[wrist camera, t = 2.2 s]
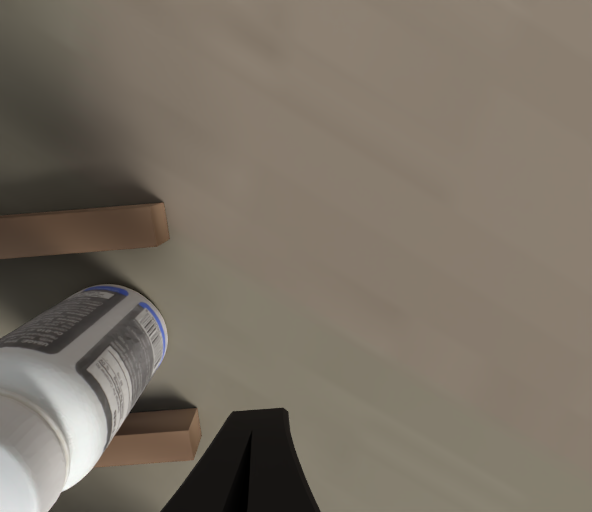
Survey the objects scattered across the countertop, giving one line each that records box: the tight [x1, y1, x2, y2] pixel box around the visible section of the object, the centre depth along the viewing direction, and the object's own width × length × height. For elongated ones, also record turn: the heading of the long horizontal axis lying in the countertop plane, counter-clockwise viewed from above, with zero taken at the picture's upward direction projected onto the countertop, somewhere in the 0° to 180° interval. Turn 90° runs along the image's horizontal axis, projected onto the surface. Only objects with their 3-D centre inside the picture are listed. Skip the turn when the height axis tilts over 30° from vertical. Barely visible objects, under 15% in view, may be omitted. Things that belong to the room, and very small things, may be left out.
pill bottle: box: [0, 284, 168, 512], centre depth 12 cm, size 5×5×8 cm
